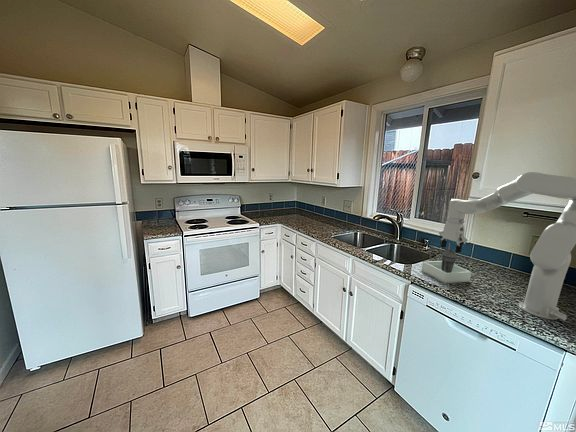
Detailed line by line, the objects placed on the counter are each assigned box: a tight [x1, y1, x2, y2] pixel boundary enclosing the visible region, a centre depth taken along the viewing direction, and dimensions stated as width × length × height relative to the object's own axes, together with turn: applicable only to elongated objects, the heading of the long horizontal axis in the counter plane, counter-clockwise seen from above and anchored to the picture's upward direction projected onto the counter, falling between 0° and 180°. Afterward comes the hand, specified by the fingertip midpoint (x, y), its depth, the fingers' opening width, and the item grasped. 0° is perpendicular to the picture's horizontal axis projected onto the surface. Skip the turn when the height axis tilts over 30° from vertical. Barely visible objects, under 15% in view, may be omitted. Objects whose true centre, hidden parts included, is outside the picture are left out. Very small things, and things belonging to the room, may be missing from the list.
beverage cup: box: [441, 241, 458, 273], centre depth 137 cm, size 7×7×20 cm
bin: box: [421, 260, 472, 284], centre depth 139 cm, size 17×17×6 cm
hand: (450, 249), depth 136 cm, fingers open, 9 cm apart
